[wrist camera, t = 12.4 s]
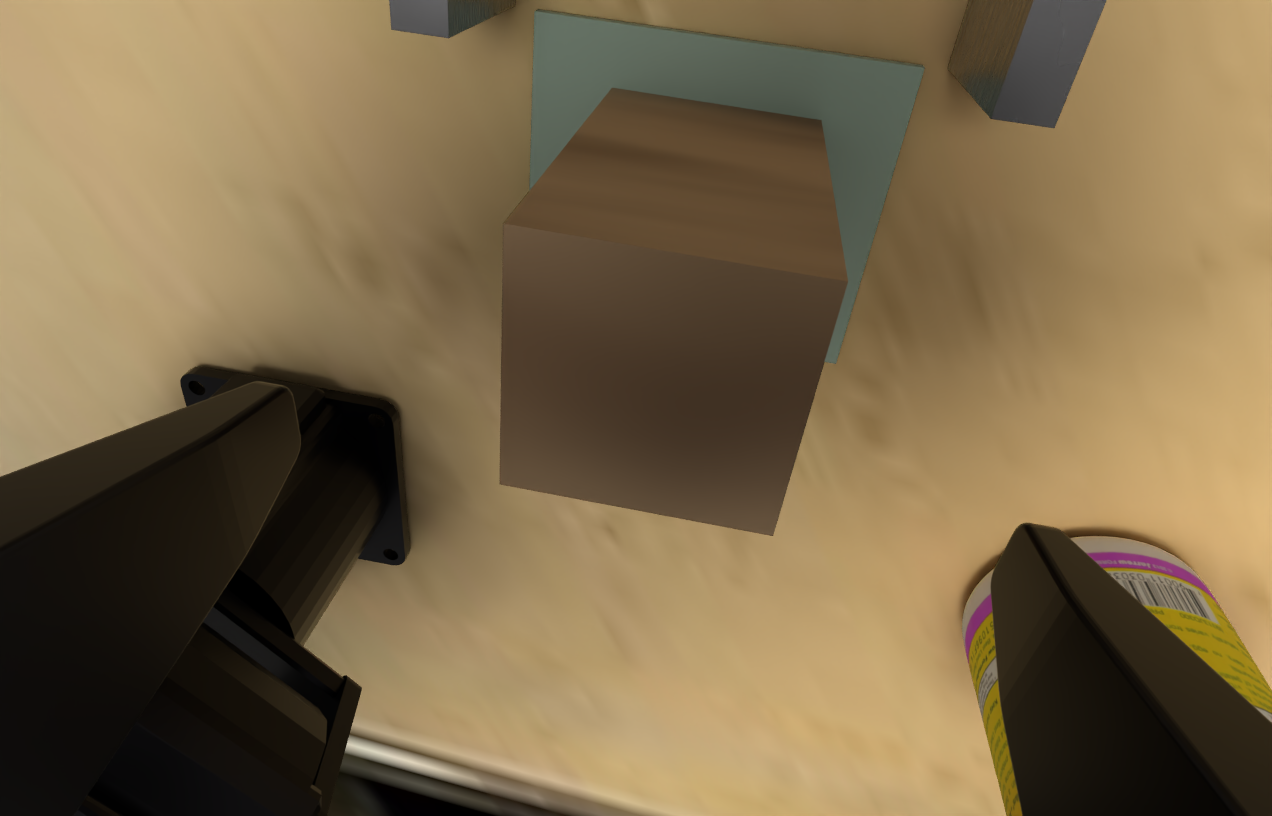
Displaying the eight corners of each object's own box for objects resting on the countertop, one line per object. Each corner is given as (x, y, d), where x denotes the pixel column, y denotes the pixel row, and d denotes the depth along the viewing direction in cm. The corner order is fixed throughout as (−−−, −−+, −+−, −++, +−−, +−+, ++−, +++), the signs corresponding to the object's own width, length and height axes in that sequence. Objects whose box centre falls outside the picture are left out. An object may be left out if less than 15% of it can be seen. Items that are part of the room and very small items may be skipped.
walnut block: (775, 308, 19) (772, 536, 12) (595, 278, 19) (499, 484, 13) (821, 120, 16) (848, 281, 10) (611, 87, 17) (504, 223, 10)
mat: (835, 357, 20) (835, 363, 20) (528, 305, 20) (525, 310, 20) (922, 64, 16) (924, 67, 16) (538, 8, 16) (534, 10, 16)
